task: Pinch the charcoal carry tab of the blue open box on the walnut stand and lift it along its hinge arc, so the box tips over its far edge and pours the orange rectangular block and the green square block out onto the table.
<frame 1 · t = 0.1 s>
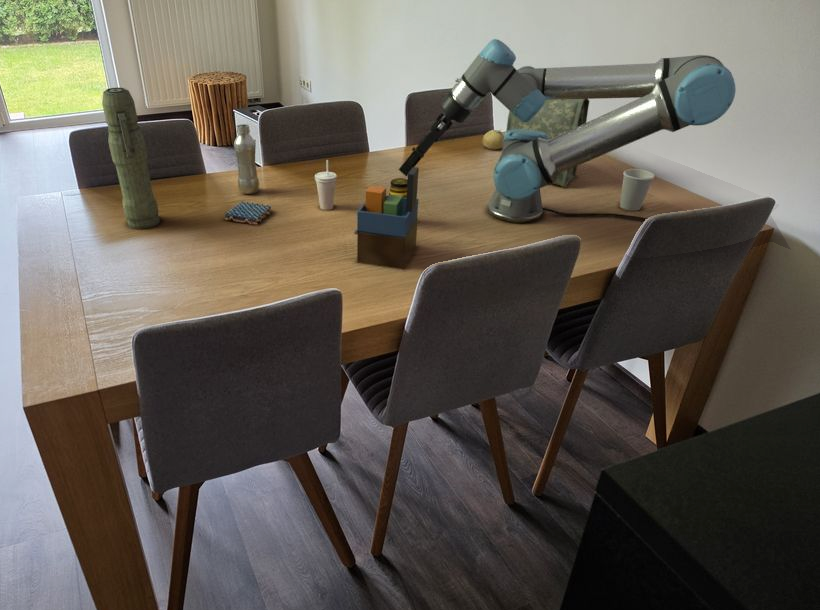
hand: (408, 164, 164), 15 cm above the table, tool tilted 35°, fingers open, 13 cm apart
dixie cup: (629, 207, 180), on the table
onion: (492, 148, 226), on the table
woven mat: (248, 216, 175), on the table
lunch bag: (537, 176, 202), on the table
blue open box: (389, 197, 146), point 15 cm above the table, hinge at -0.1°, touching orange rectangular block, green square block
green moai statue: (143, 223, 171), on the table
condiment: (395, 222, 171), on the table
stand: (387, 254, 155), on the table
orange rectangular block: (375, 220, 151), point 9 cm above the table, touching blue open box
smoothie: (326, 208, 180), on the table
green square block: (392, 222, 150), point 9 cm above the table, touching blue open box
plastic bottle: (249, 192, 190), on the table
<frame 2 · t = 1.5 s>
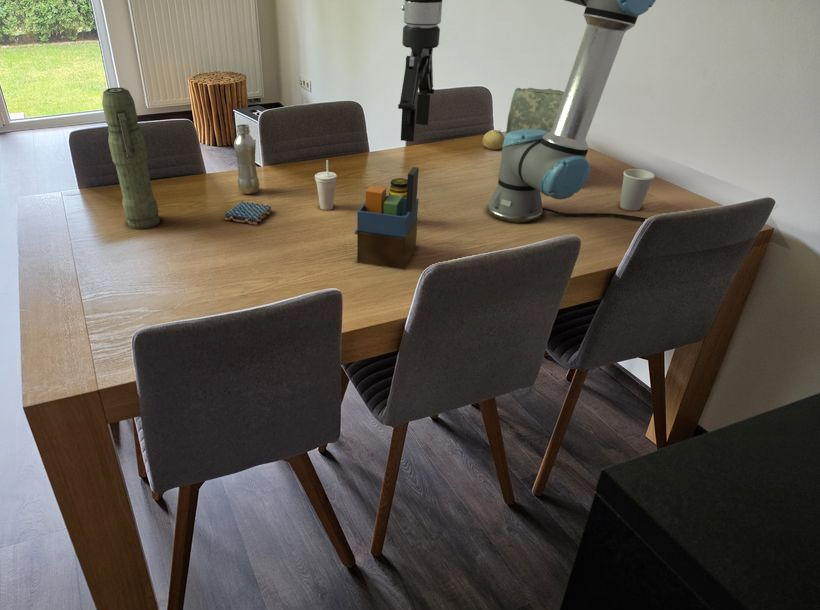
hand: (414, 132, 136), 31 cm above the table, tool pointing down, fingers open, 13 cm apart
nothing on the table moved.
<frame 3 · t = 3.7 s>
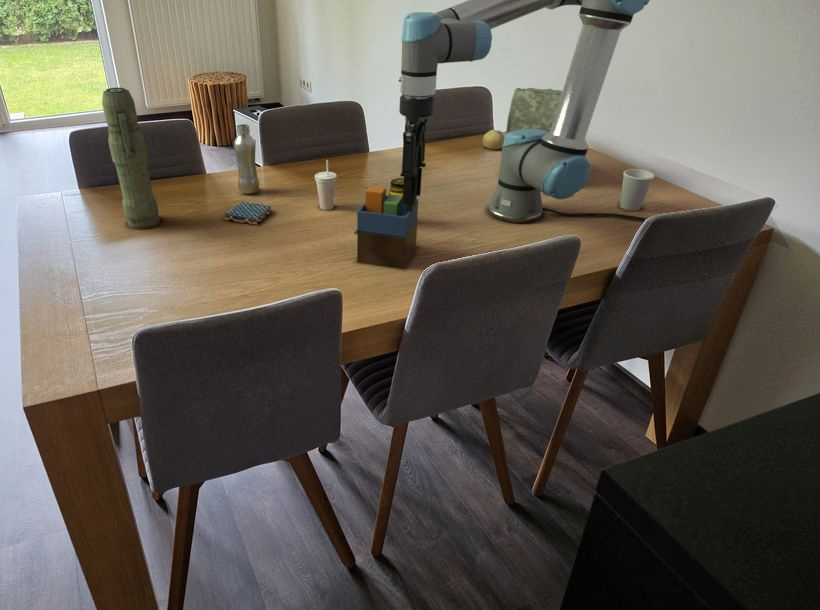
hand: (411, 198, 145), 15 cm above the table, tool pointing down, fingers closed on blue open box, 5 cm apart
blue open box: (389, 197, 146), point 15 cm above the table, hinge at -0.1°, touching gripper, orange rectangular block, green square block
everything else where it was.
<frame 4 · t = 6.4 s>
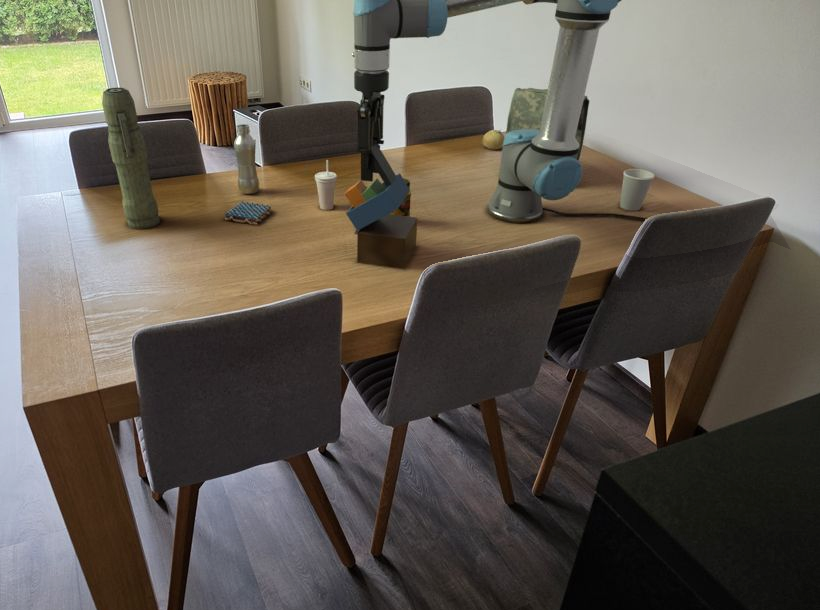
hand: (370, 176, 145), 20 cm above the table, tool pointing down, fingers closed on blue open box, 5 cm apart
blue open box: (369, 185, 146), point 17 cm above the table, hinge at 35.0°, touching gripper, orange rectangular block, green square block
orange rectangular block: (371, 213, 150), point 10 cm above the table, tilted 39°, touching blue open box, green square block
green square block: (385, 205, 148), point 13 cm above the table, tilted 46°, touching orange rectangular block, blue open box
everything else where it was.
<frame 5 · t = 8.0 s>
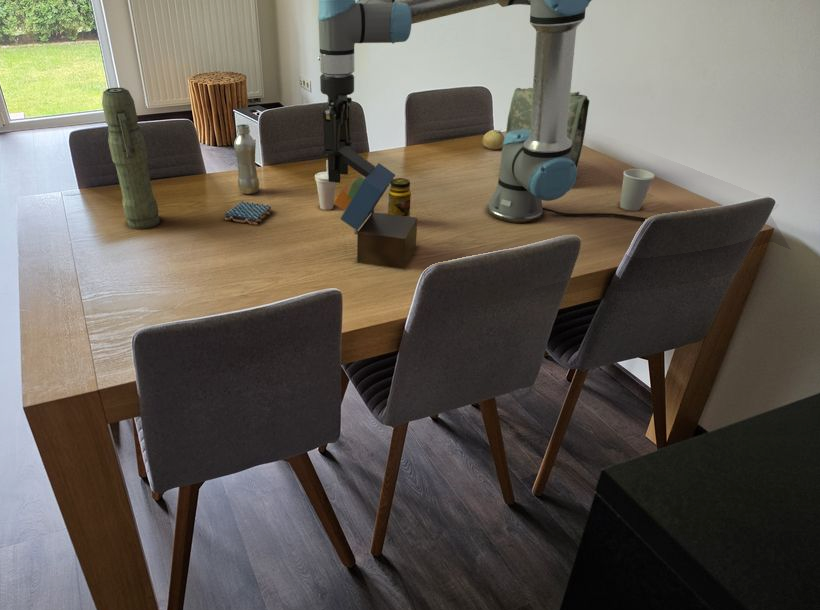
hand: (338, 177, 147), 18 cm above the table, tool pointing down, fingers closed on blue open box, 5 cm apart
blue open box: (353, 185, 147), point 17 cm above the table, hinge at 60.2°, touching gripper, orange rectangular block, green square block
orange rectangular block: (367, 211, 150), point 11 cm above the table, tilted 64°, touching blue open box, green square block
green square block: (375, 196, 147), point 15 cm above the table, tilted 72°, touching orange rectangular block, blue open box
everything else where it was.
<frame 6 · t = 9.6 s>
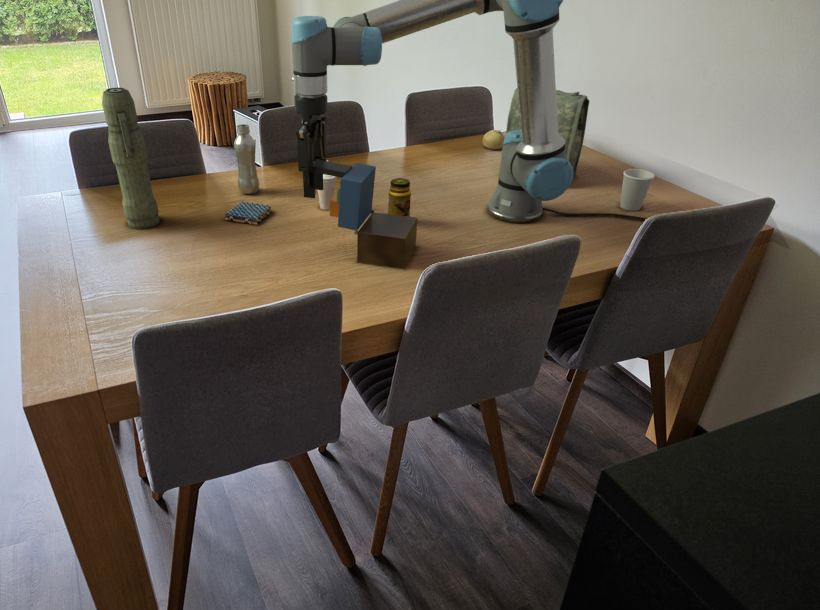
hand: (313, 192, 152), 14 cm above the table, tool pointing down, fingers closed on blue open box, 5 cm apart
blue open box: (339, 192, 149), point 15 cm above the table, hinge at 85.5°, touching gripper, orange rectangular block, green square block
orange rectangular block: (363, 211, 150), point 11 cm above the table, tilted 86°, touching blue open box, green square block
green square block: (364, 197, 148), point 14 cm above the table, tilted 86°, touching orange rectangular block, blue open box
everything else where it was.
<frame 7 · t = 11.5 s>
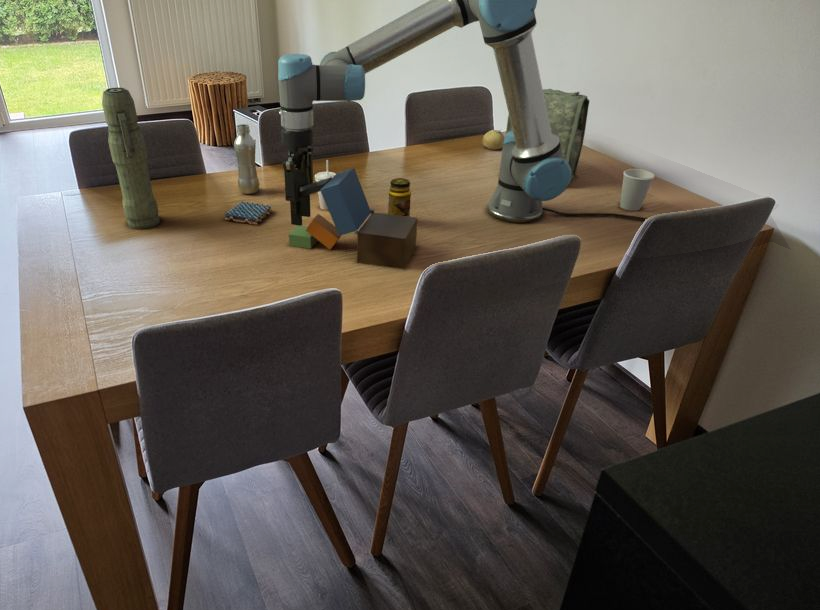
hand: (301, 220, 157), 6 cm above the table, tool pointing down, fingers closed on blue open box, 5 cm apart
blue open box: (330, 205, 152), point 11 cm above the table, hinge at 112.8°, touching gripper
orange rectangular block: (311, 222, 156), point 6 cm above the table, tilted 123°, touching green square block
green square block: (293, 235, 160), point 2 cm above the table, tilted 90°, touching orange rectangular block
everything else where it was.
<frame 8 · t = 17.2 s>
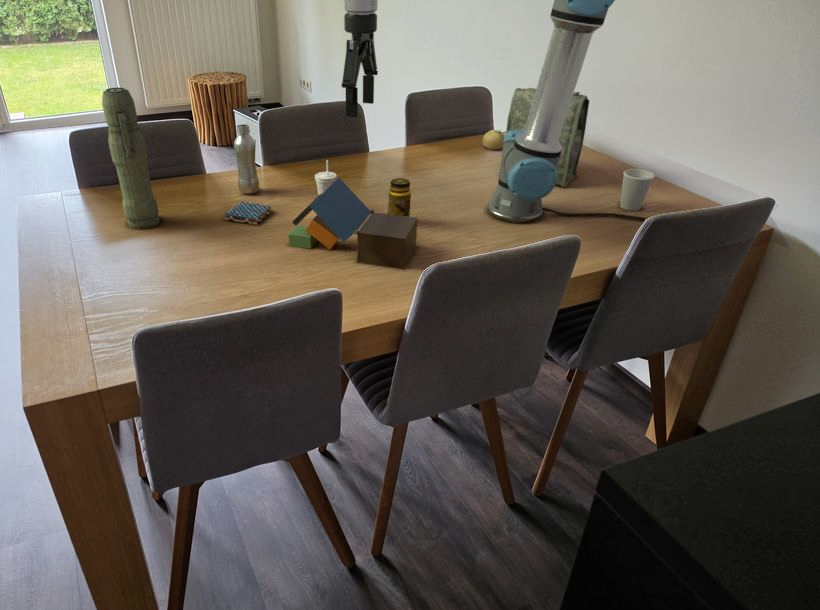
hand: (360, 109, 152), 31 cm above the table, tool pointing down, fingers open, 13 cm apart
blue open box: (329, 219, 154), point 7 cm above the table, hinge at 136.4°
everything else where it was.
at the end: blue open box at +136° (first picture: +0°); orange rectangular block touching green square block, table; green square block touching orange rectangular block, table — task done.
